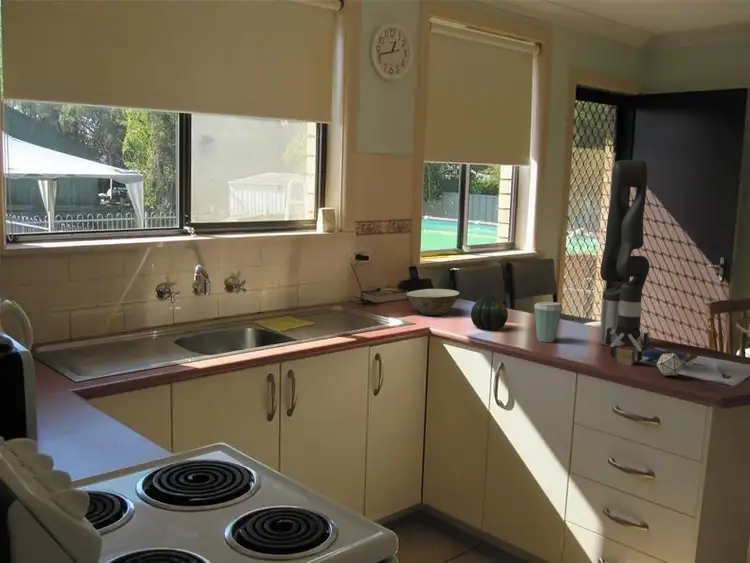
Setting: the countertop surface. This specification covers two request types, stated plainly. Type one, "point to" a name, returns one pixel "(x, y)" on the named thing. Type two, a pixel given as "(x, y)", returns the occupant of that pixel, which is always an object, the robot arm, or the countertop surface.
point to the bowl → (433, 300)
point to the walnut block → (626, 355)
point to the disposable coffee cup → (547, 320)
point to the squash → (489, 313)
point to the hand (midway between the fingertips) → (625, 359)
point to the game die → (669, 364)
